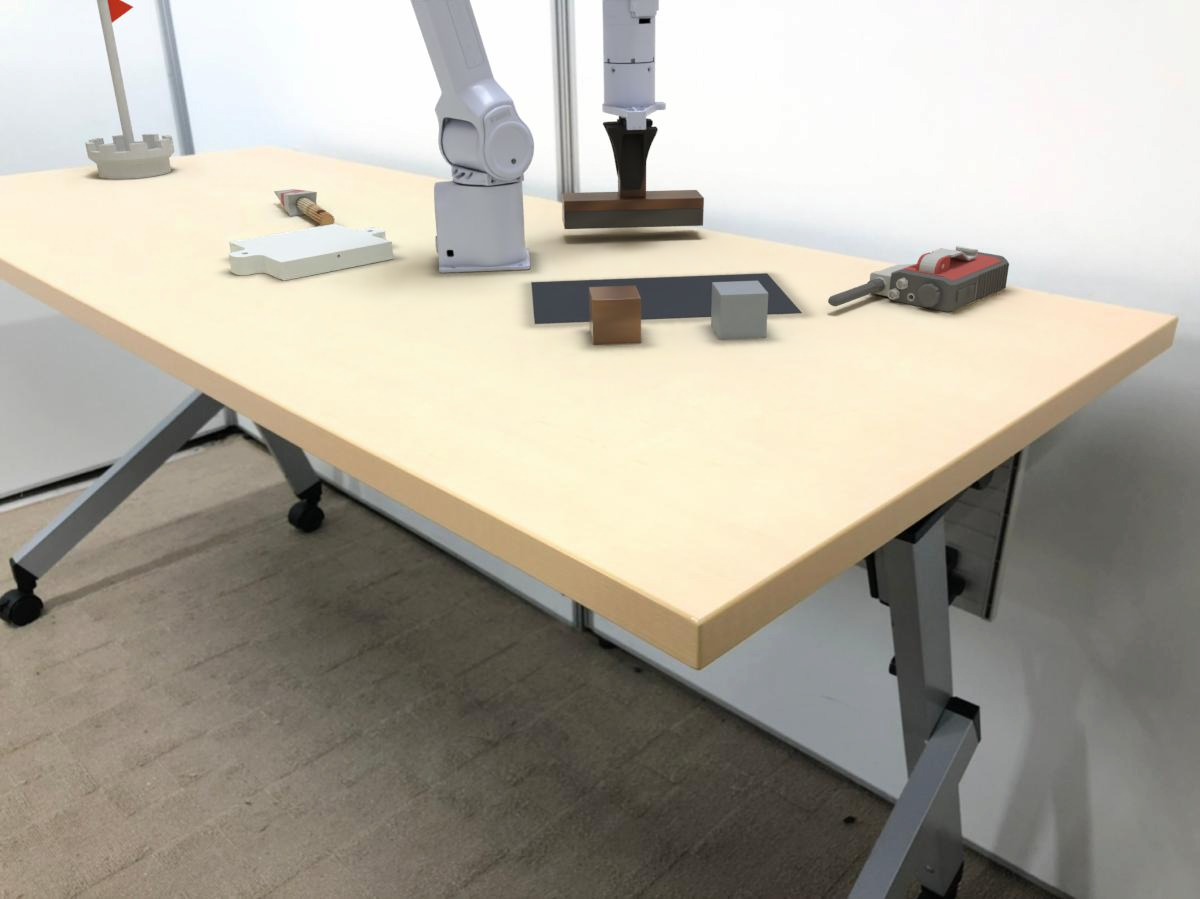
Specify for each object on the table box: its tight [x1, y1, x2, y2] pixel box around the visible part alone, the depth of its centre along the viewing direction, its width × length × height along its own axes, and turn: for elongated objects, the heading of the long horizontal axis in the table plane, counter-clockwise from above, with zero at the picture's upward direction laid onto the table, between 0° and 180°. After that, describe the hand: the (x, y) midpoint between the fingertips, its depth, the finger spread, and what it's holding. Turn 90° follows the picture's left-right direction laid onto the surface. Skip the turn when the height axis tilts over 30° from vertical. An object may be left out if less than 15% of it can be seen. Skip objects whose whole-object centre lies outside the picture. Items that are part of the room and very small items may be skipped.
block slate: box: [710, 281, 768, 341], centre depth 90 cm, size 4×4×4 cm
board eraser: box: [561, 165, 705, 230], centre depth 122 cm, size 16×5×7 cm, turn 95°
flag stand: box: [84, 0, 175, 180], centre depth 167 cm, size 13×13×30 cm
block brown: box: [589, 285, 642, 346], centre depth 89 cm, size 4×4×4 cm
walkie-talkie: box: [827, 245, 1010, 313], centre depth 98 cm, size 9×4×20 cm
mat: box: [530, 272, 803, 325], centre depth 101 cm, size 24×14×1 cm, turn 95°
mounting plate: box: [228, 223, 394, 282], centre depth 117 cm, size 18×13×2 cm
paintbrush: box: [273, 188, 335, 226], centre depth 140 cm, size 4×3×20 cm
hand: (630, 187), depth 122 cm, fingers closed on board eraser, 2 cm apart
